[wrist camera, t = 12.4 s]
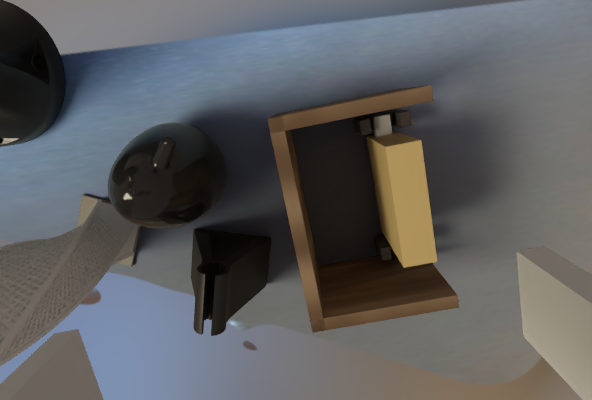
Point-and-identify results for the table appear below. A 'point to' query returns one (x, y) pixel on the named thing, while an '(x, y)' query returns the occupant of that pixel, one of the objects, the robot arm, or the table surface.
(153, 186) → the pump dispenser
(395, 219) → the yellow rectangular block
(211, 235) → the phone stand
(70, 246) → the skyscraper
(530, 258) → the robot arm
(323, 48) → the table surface
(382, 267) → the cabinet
